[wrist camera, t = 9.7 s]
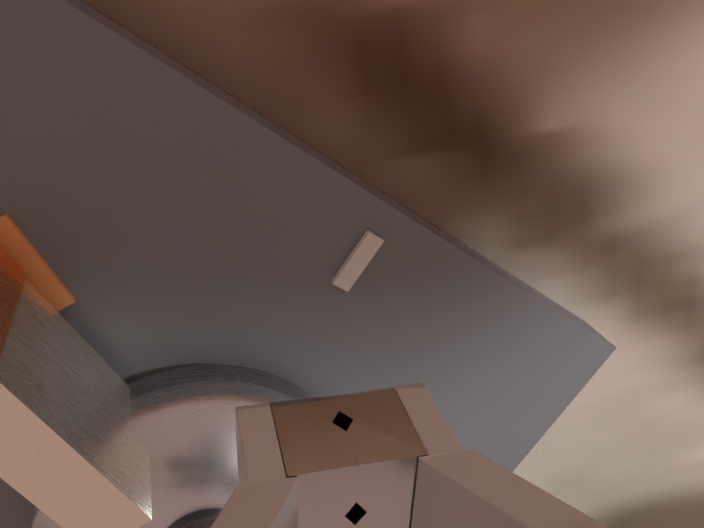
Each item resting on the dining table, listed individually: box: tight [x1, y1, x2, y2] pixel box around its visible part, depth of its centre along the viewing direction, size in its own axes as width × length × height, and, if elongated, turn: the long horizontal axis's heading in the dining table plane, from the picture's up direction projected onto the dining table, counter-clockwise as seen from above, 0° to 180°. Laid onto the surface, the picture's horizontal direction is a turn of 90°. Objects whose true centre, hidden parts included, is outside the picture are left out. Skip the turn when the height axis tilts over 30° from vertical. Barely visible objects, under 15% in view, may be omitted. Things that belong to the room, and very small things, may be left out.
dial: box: [0, 249, 313, 528], centre depth 19 cm, size 16×10×5 cm, turn 28°
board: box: [0, 0, 616, 528], centre depth 24 cm, size 23×23×2 cm
